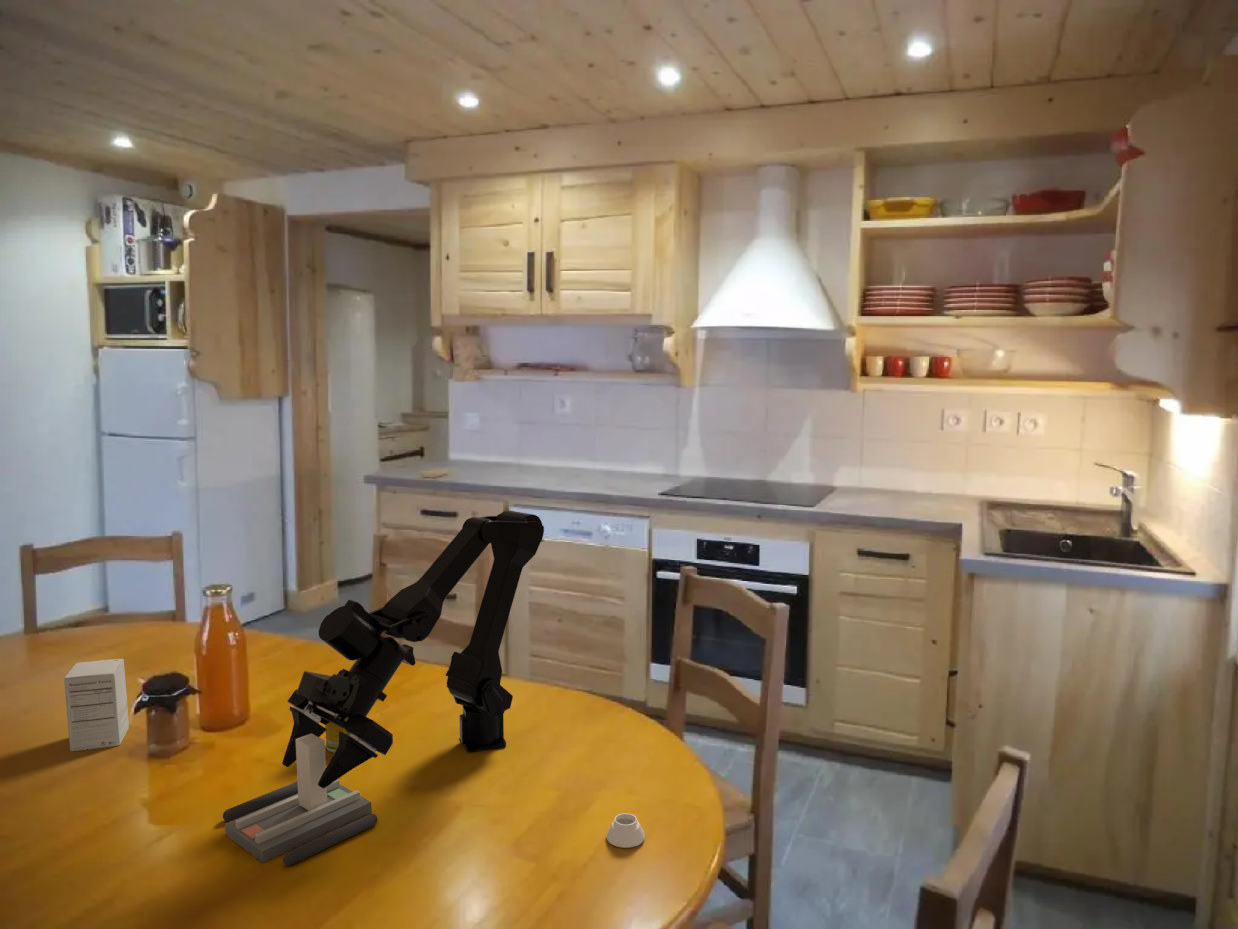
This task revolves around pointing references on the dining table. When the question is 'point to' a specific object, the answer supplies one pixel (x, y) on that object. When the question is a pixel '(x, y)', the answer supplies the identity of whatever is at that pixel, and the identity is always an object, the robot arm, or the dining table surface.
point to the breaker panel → (295, 822)
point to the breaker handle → (310, 771)
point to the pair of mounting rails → (312, 846)
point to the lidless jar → (625, 831)
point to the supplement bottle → (333, 735)
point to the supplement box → (96, 704)
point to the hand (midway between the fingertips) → (302, 776)
